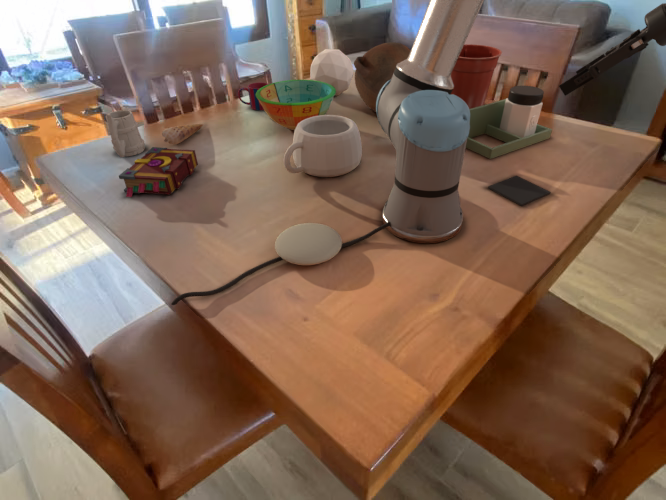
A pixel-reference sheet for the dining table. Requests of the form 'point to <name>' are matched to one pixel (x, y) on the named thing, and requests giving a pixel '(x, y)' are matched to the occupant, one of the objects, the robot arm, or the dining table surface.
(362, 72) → the jug
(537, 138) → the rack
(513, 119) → the jar
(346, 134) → the mug
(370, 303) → the dining table surface
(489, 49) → the flower pot
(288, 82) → the bowl
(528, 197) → the mat
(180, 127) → the seashell
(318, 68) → the geometric sphere
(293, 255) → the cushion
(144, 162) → the decorative book
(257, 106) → the cup
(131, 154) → the mug
